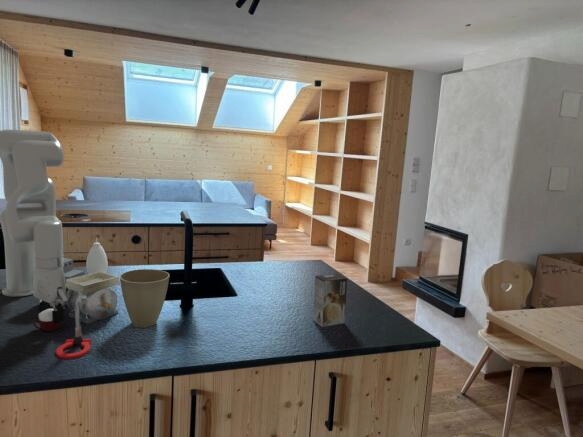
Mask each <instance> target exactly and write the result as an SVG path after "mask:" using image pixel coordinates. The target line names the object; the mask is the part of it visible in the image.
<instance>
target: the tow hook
mask: <svg viewBox="0 0 583 437" xmlns="http://www.w3.org/2000/svg"><path fill="white" fill-rule="evenodd" d="M74 311H75V318H74V321H75V322H74V323H75V327H74V332H75V333H74V334H75V335H74V336H73V339H66V340H65V343H63V344H61V345H59V346H58V347H56V348H57V349H56V350H55V355H56V356H57V357H58V358H61V359H64V360H65V359H67V360H68V359H77V358H80V357H83V356H85V355H87V354H88V353H89V352H90V350H91V344H92V342H93V340H92V339H91V338H88V339H87V338H84V334H82V326H81V321H80V311H79V308H78V301H76V302H75V310H74ZM78 345H79V346H80V347H83V349H82V350H80V351H77V352H74V353H66V352H64V351H65V350H66V349H68V348H70V347H73V346H78Z"/></svg>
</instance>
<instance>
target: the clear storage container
mask: <svg viewBox="0 0 583 437" xmlns="http://www.w3.org/2000/svg"><path fill="white" fill-rule="evenodd" d="M119 285H120V286H121V283H120V276H118V275H114V274H111V273H108V272H106V273H105V272H102V271H100V272H96V273H92V274H88V273H87V274H85V275H83V276H79V277H75V278H71V279H66V284H65V287H67V288H68V291H67V294H66V298H67V300H68V301H67V303H66V305H65V306H67V307H68V308H69V309H71V310H72V311H70V312H69V313H68V316H69V317H70V318H73V319H75V302H76V301H78V308H79V311H80V322H82V323H85V324H87V325H89V324H92V323H95V322H97V321H100V320H105V319H108V318H110V317H112V316H115V315H119V310H118V309H117V306H118V296H117V293H116V291H114V290H112V289H110V288H112V287H115V286H116V287H117V286H119Z"/></svg>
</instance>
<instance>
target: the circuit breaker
mask: <svg viewBox="0 0 583 437" xmlns="http://www.w3.org/2000/svg"><path fill="white" fill-rule="evenodd" d="M63 263H64V266H63V271H64V277H65V284H66V279H71V278H75V277H79V276H83V275H86V274H85V270H79V269H75V268H74V259H73V258H65V257H63ZM57 299H59V298H56V299H55V300H57ZM47 303H48V302H47ZM58 303H59V302H56V306H57V305H58ZM50 307H53V306H52V303H50Z"/></svg>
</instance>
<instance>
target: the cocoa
mask: <svg viewBox="0 0 583 437" xmlns="http://www.w3.org/2000/svg"><path fill="white" fill-rule="evenodd" d="M67 291H68V288H67V287H66V294H67ZM52 311H54V309H53V308H50V309H47V310H45V311H42V312H41V313H39V312H38V320H34V322H33V324H32V325H33V326H34V327H35V328H36V329H39V330H43V331H45V332H53V331H56V330H58V329H59V328H60V327H61V325H62V322H59V323H56V324H53V320H52ZM36 323H39V326H37V325H36Z"/></svg>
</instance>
